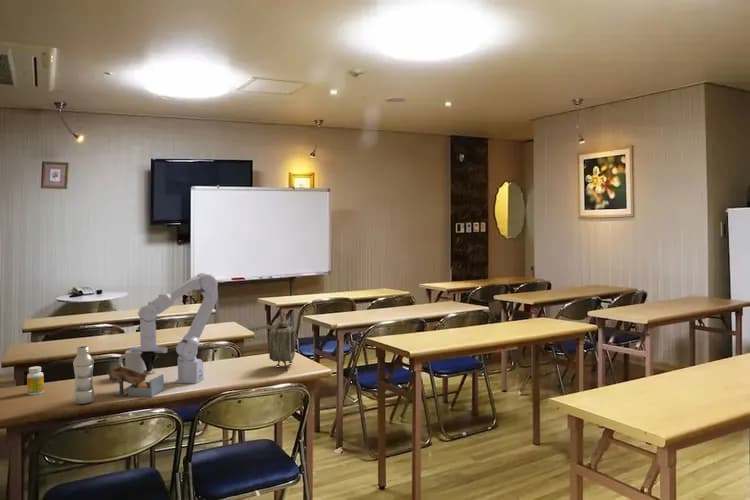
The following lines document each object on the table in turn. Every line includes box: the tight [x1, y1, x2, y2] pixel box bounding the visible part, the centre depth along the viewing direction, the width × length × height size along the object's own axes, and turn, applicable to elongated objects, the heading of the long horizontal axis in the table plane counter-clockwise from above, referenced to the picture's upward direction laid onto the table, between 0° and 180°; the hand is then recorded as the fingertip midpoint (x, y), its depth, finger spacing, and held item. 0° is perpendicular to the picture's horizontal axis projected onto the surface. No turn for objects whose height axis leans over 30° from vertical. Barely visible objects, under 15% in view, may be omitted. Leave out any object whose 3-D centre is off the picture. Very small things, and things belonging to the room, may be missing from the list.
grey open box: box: [127, 374, 165, 398], centre depth 216 cm, size 9×9×6 cm
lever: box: [108, 366, 156, 385], centre depth 220 cm, size 11×13×4 cm
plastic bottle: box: [72, 345, 96, 405], centre depth 204 cm, size 6×7×20 cm
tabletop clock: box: [268, 310, 296, 370], centre depth 252 cm, size 14×9×25 cm, turn 179°
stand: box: [113, 378, 133, 398], centre depth 217 cm, size 5×11×7 cm, turn 172°
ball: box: [137, 381, 147, 388], centre depth 216 cm, size 4×4×4 cm
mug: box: [118, 349, 149, 378], centre depth 240 cm, size 12×8×11 cm
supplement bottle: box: [26, 365, 45, 396], centre depth 217 cm, size 5×5×10 cm
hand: (149, 370), depth 224 cm, fingers closed, pressing on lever
